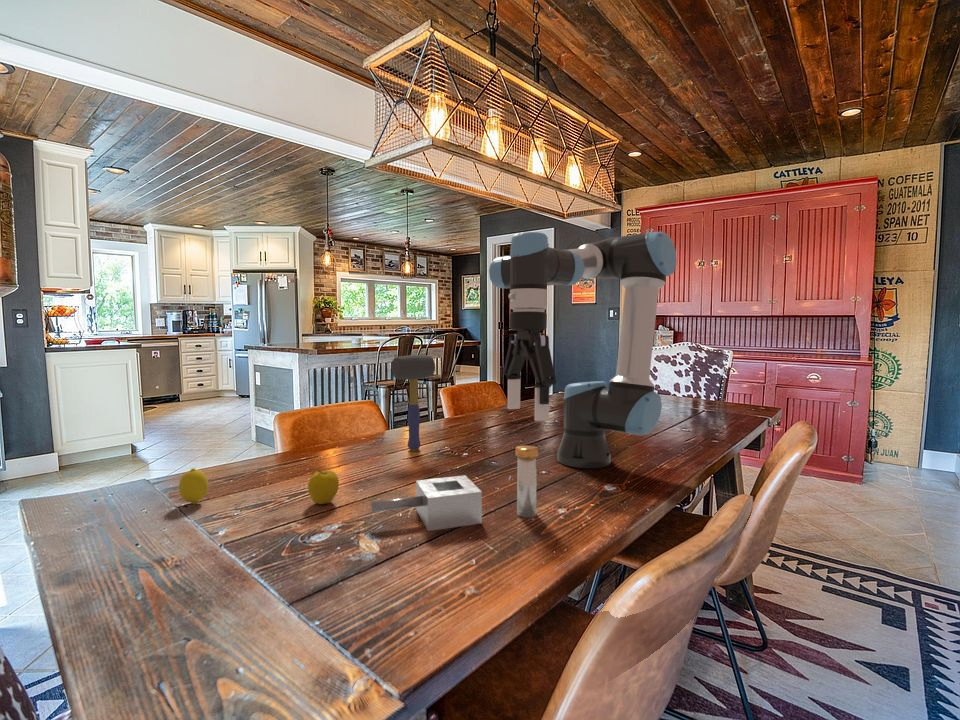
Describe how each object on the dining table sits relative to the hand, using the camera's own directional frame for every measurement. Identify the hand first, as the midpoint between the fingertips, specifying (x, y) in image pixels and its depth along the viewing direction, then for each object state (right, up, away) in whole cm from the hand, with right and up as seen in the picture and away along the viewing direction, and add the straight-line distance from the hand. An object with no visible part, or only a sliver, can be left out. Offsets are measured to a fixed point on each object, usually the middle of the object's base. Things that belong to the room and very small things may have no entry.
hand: (526, 414), depth 100 cm
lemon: (-73, -21, +7) cm, 76 cm away
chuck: (-21, -21, -1) cm, 30 cm away
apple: (-44, -21, +7) cm, 49 cm away
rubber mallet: (-30, -17, +52) cm, 63 cm away
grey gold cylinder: (0, -21, +2) cm, 21 cm away
